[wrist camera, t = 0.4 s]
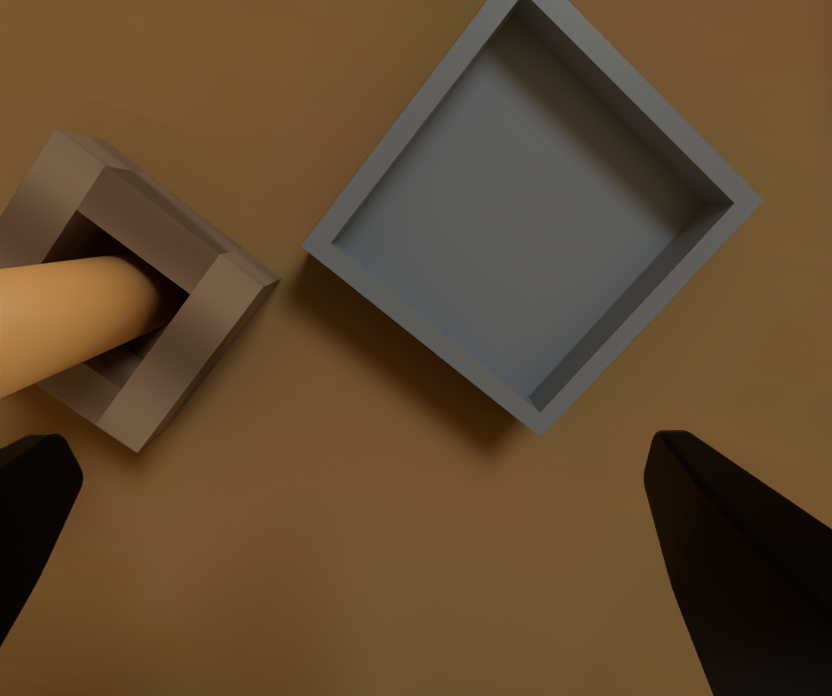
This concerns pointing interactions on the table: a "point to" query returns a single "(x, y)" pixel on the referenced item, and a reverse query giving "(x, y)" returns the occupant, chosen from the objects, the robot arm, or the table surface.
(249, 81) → the table surface
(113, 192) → the socket block
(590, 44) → the tray
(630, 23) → the table surface
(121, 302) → the pin
